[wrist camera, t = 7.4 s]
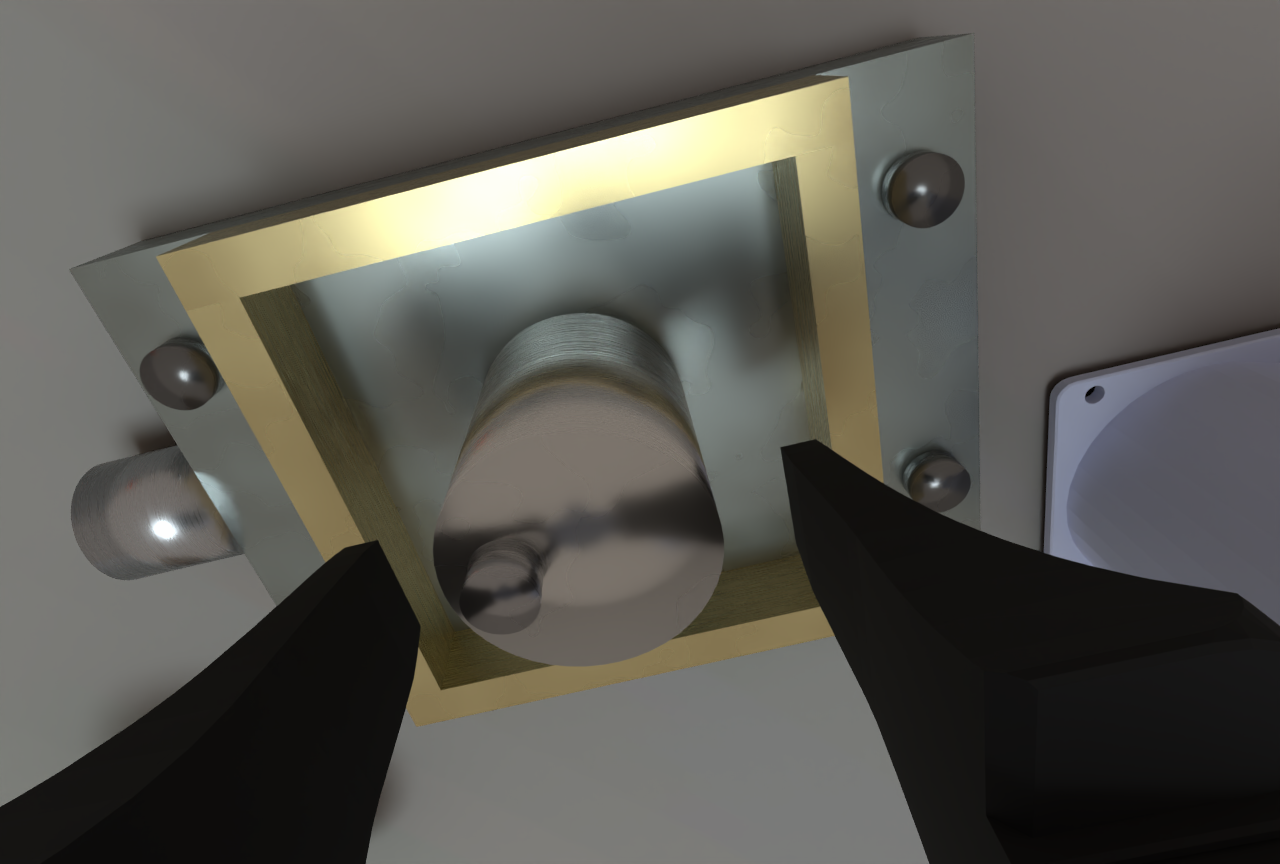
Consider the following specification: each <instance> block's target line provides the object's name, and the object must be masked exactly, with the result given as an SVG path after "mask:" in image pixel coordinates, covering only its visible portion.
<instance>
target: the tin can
mask: <svg viewBox="0 0 1280 864" xmlns="http://www.w3.org/2000/svg"><path fill="white" fill-rule="evenodd" d="M433 559H434V567H435V571H436V575H437V579H438V582H439V584H440V587H441V589H442V592H443V594H444V596H445V597H446V599H447V601H448V602H449V604H450V606H451V607H452V609H453V610H454V611H455V612H456V614H457V615H458V616H459V617H460V618H461V620H462V621H463V622H464V623H465V624H467V625H468V626H469V627H470V628H471V629H472V630H473V631H474V632H475V633H477V634H478V635H479V636H481V637H482V638H484V639H485V640H486V641H488V642H490V643H491V644H493V645H495V646H497V647H498V648H500V649H502V650H504V651H507V652H509V653H511V654H514V655H516V656H519V657H522V658H525V659H528V660H531V661H535V662H540V663H545V664H550V665H559V666H581V667H585V666H597V665H605V664H610V663H615V662H620V661H624V660H627V659H630V658H634V657H637V656H639V655H642V654H644V653H647V652H649V651H651V650H653V649H655V648H657V647H659V646H661V645H663V644H664V643H666V642H668V641H669V640H671V639H672V638H674V637H675V636H676V635H678V634H679V633H680V632H682V631H683V630H684V629H685V628H686V627H687V626H688V625H690V624H691V623H692V622H693V621H694V619H695V618H696V617H697V616H698V615H699V614H700V613H701V611H702V610H703V609H704V607H705V606H706V604H707V603H708V601H709V600H710V598H711V596H712V594H713V592H714V590H715V588H716V586H717V584H718V581H719V577H720V574H721V571H722V566H723V559H724V537H723V531H722V525H721V521H720V518H719V514H718V511H717V507H716V503H715V500H714V496H713V493H712V489H711V486H710V482H709V479H708V475H707V472H706V468H705V464H704V461H703V457H702V454H701V450H700V447H699V443H698V440H697V436H696V432H695V429H694V425H693V422H692V418H691V415H690V411H689V408H688V404H687V400H686V397H685V393H684V390H683V386H682V383H681V380H680V377H679V374H678V372H677V370H676V368H675V366H674V364H673V362H672V360H671V359H670V358H669V356H668V355H667V353H666V352H665V351H664V350H663V348H662V347H661V346H660V345H659V344H658V343H657V342H656V341H655V340H654V339H652V338H651V337H650V336H649V335H648V334H646V333H645V332H643V331H642V330H640V329H638V328H637V327H635V326H633V325H631V324H629V323H627V322H625V321H622V320H619V319H616V318H613V317H610V316H605V315H599V314H590V313H575V314H565V315H560V316H555V317H551V318H548V319H545V320H543V321H540V322H538V323H536V324H534V325H532V326H530V327H528V328H526V329H525V330H523V331H522V332H520V333H519V334H517V335H516V336H515V337H514V338H512V339H511V340H510V341H509V342H508V343H507V344H506V345H505V346H504V347H503V349H502V350H501V351H500V352H499V353H498V355H497V356H496V358H495V359H494V361H493V363H492V364H491V366H490V369H489V371H488V373H487V376H486V378H485V381H484V384H483V387H482V390H481V393H480V396H479V399H478V402H477V405H476V408H475V411H474V414H473V416H472V419H471V422H470V425H469V428H468V431H467V434H466V437H465V440H464V443H463V446H462V449H461V452H460V455H459V458H458V461H457V464H456V467H455V470H454V472H453V475H452V478H451V481H450V484H449V487H448V490H447V493H446V496H445V499H444V502H443V505H442V508H441V511H440V514H439V517H438V520H437V524H436V528H435V532H434V540H433Z"/></svg>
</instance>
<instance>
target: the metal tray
mask: <svg viewBox="0 0 1280 864" xmlns="http://www.w3.org/2000/svg"><path fill="white" fill-rule="evenodd" d="M69 270H70V272H71V274H72V275H73V277H74V278H75V280H76V282H77V283H78V285H79V287H80V288H81V290H82V291H83V293H84V295H85V296H86V298H87V299H88V301H89V303H90V304H91V306H92V308H93V309H94V311H95V312H96V314H97V316H98V317H99V319H100V321H101V322H102V324H103V325H104V327H105V329H106V330H107V332H108V333H109V335H110V337H111V338H112V340H113V342H114V343H115V345H116V346H117V348H118V350H119V351H120V353H121V355H122V356H123V358H124V359H125V361H126V363H127V364H128V366H129V367H130V369H131V371H132V372H133V374H134V376H135V377H136V379H137V380H138V382H139V384H140V385H141V387H142V389H143V390H144V392H145V393H146V395H147V397H148V398H149V400H150V401H151V403H152V405H153V406H154V408H155V410H156V411H157V413H158V414H159V416H160V418H161V419H162V421H163V423H164V424H165V426H166V427H167V429H168V431H169V432H170V434H171V435H172V437H173V439H174V440H175V442H176V444H177V445H176V446H172V447H168V448H164V449H160V450H155V451H151V452H147V453H143V454H139V455H135V456H131V457H127V458H123V459H119V460H115V461H110V462H106V463H103V464H99V465H97V466H95V467H93V468H92V469H90V470H89V471H88V472H87V473H86V474H84V476H83V477H82V478H81V480H80V481H79V483H78V485H77V486H76V489H75V492H74V494H73V499H72V505H71V520H72V527H73V531H74V535H75V538H76V540H77V543H78V545H79V547H80V549H81V551H82V552H83V554H84V555H85V557H86V558H87V559H88V560H89V561H90V563H91V564H92V565H93V566H94V567H96V568H97V569H98V570H99V571H101V572H102V573H104V574H106V575H108V576H110V577H112V578H115V579H120V580H134V579H139V578H143V577H148V576H152V575H156V574H160V573H165V572H169V571H173V570H177V569H182V568H186V567H190V566H194V565H199V564H203V563H207V562H212V561H216V560H220V559H224V558H229V557H233V556H237V555H241V554H245V555H246V557H247V559H248V560H249V562H250V563H251V565H252V567H253V568H254V570H255V572H256V573H257V575H258V576H259V578H260V580H261V581H262V583H263V584H264V586H265V588H266V589H267V591H268V593H269V594H270V596H271V597H272V599H273V601H274V602H275V604H276V606H278V605H279V604H280V603H281V602H282V601H283V600H284V599H285V598H286V597H288V596H289V595H290V594H291V593H292V592H293V591H294V590H295V589H296V588H297V587H299V586H300V585H301V584H302V583H303V582H304V581H305V580H306V579H307V578H308V577H310V576H311V575H312V574H313V573H314V572H315V571H316V570H317V569H319V568H320V567H321V566H322V565H323V564H324V563H326V562H327V561H328V560H329V559H330V558H332V557H333V556H334V555H335V554H337V553H338V552H340V551H341V550H342V549H344V548H345V547H349V546H353V545H358V544H362V543H366V542H371V541H375V540H378V541H379V543H380V545H381V547H382V549H383V551H384V553H385V555H386V557H387V559H388V561H389V563H390V565H391V567H392V569H393V571H394V573H395V575H396V577H397V579H398V581H399V583H400V585H401V587H402V589H403V591H404V593H405V595H406V597H407V599H408V601H409V603H410V605H411V607H412V609H413V611H414V613H415V615H416V617H417V619H418V621H419V623H420V625H421V630H420V638H419V647H418V655H417V662H416V668H415V675H414V680H413V684H412V687H411V691H410V695H409V698H408V702H407V705H406V709H407V710H408V712H409V714H410V716H411V718H412V719H413V721H414V723H415V725H416V727H418V726H423V725H427V724H432V723H436V722H441V721H445V720H450V719H455V718H459V717H464V716H468V715H473V714H478V713H482V712H487V711H491V710H496V709H501V708H505V707H510V706H514V705H519V704H523V703H528V702H533V701H537V700H542V699H546V698H551V697H556V696H560V695H565V694H569V693H574V692H579V691H583V690H588V689H592V688H597V687H601V686H606V685H611V684H615V683H620V682H624V681H629V680H634V679H638V678H643V677H647V676H652V675H656V674H661V673H666V672H670V671H675V670H679V669H684V668H689V667H693V666H698V665H702V664H707V663H712V662H716V661H721V660H725V659H730V658H734V657H739V656H744V655H748V654H753V653H757V652H762V651H767V650H771V649H776V648H780V647H785V646H790V645H794V644H799V643H803V642H808V641H812V640H817V639H822V638H826V637H831V636H835V635H834V633H833V631H832V629H831V627H830V625H829V623H828V621H827V619H826V617H825V615H824V613H823V611H822V609H821V607H820V605H819V603H818V601H817V599H816V597H815V595H814V593H813V590H812V587H811V585H810V582H809V579H808V576H807V574H806V571H805V568H804V565H803V562H802V559H801V556H800V553H799V550H798V547H797V545H796V540H795V534H794V528H793V522H792V516H791V510H790V504H789V498H788V492H787V485H786V479H785V473H784V467H783V461H782V455H781V449H780V447H783V446H788V445H792V444H796V443H801V442H805V441H810V440H814V439H816V440H818V441H819V442H821V443H822V444H824V445H826V446H827V447H829V448H830V449H832V450H833V451H835V452H836V453H837V454H839V455H840V456H842V457H843V458H845V459H846V460H848V461H849V462H851V463H852V464H854V465H855V466H857V467H858V468H860V469H861V470H863V471H865V472H866V473H868V474H869V475H871V476H872V477H874V478H876V479H877V480H879V481H881V482H882V483H884V484H886V485H887V486H889V487H891V488H892V489H894V490H896V491H898V492H899V493H901V494H903V495H905V496H907V497H908V498H910V499H912V500H914V501H916V502H918V503H920V504H922V505H924V506H926V507H928V508H930V509H932V510H934V511H936V512H938V513H940V514H942V515H944V516H947V517H949V518H951V519H953V520H955V521H958V522H960V523H963V524H965V525H968V526H970V527H972V528H975V529H977V530H980V459H979V381H978V303H977V225H976V147H975V70H974V33H971V34H960V35H948V36H936V37H924V38H917V39H913V40H909V41H905V42H901V43H898V44H894V45H890V46H886V47H882V48H879V49H875V50H871V51H867V52H863V53H859V54H856V55H852V56H848V57H844V58H840V59H836V60H833V61H829V62H825V63H821V64H817V65H814V66H810V67H806V68H802V69H798V70H794V71H791V72H787V73H783V74H779V75H775V76H771V77H768V78H764V79H760V80H756V81H752V82H749V83H745V84H741V85H737V86H733V87H729V88H726V89H722V90H718V91H714V92H710V93H707V94H703V95H699V96H695V97H691V98H687V99H684V100H680V101H676V102H672V103H668V104H664V105H661V106H657V107H653V108H649V109H645V110H642V111H638V112H634V113H630V114H626V115H622V116H619V117H615V118H611V119H607V120H603V121H599V122H596V123H592V124H588V125H584V126H580V127H577V128H573V129H569V130H565V131H561V132H557V133H554V134H550V135H546V136H542V137H538V138H534V139H531V140H527V141H523V142H519V143H515V144H512V145H508V146H504V147H500V148H496V149H492V150H489V151H485V152H481V153H477V154H473V155H470V156H466V157H462V158H458V159H454V160H450V161H447V162H443V163H439V164H435V165H431V166H427V167H424V168H420V169H416V170H412V171H408V172H405V173H401V174H397V175H393V176H389V177H385V178H382V179H378V180H374V181H370V182H366V183H362V184H359V185H355V186H351V187H347V188H343V189H340V190H336V191H332V192H328V193H324V194H320V195H317V196H313V197H309V198H305V199H301V200H297V201H294V202H290V203H286V204H282V205H278V206H275V207H271V208H267V209H263V210H259V211H255V212H252V213H248V214H244V215H240V216H236V217H233V218H229V219H225V220H221V221H217V222H213V223H210V224H206V225H202V226H198V227H194V228H190V229H187V230H183V231H179V232H175V233H171V234H168V235H164V236H160V237H156V238H152V239H148V240H145V241H141V242H138V243H135V244H133V245H130V246H128V247H125V248H123V249H120V250H117V251H115V252H112V253H110V254H107V255H105V256H102V257H99V258H97V259H94V260H92V261H89V262H87V263H84V264H81V265H79V266H76V267H74V268H71V269H69ZM575 313H590V314H599V315H605V316H610V317H613V318H616V319H619V320H622V321H625V322H627V323H629V324H631V325H633V326H635V327H637V328H638V329H640V330H642V331H643V332H645V333H646V334H648V335H649V336H650V337H651V338H652V339H654V340H655V341H656V342H657V343H658V344H659V345H660V346H661V347H662V348H663V350H664V351H665V352H666V353H667V355H668V356H669V358H670V359H671V360H672V362H673V364H674V366H675V368H676V370H677V372H678V374H679V377H680V380H681V383H682V386H683V390H684V393H685V397H686V400H687V404H688V408H689V411H690V415H691V418H692V422H693V425H694V429H695V432H696V436H697V440H698V443H699V447H700V450H701V454H702V457H703V461H704V464H705V468H706V472H707V475H708V479H709V482H710V486H711V489H712V493H713V496H714V500H715V503H716V507H717V511H718V514H719V518H720V521H721V525H722V531H723V537H724V559H723V566H722V571H721V574H720V577H719V581H718V584H717V586H716V588H715V590H714V592H713V594H712V596H711V598H710V600H709V601H708V603H707V604H706V606H705V607H704V609H703V610H702V611H701V613H700V614H699V615H698V616H697V617H696V618H695V619H694V621H693V622H692V623H691V624H690V625H688V626H687V627H686V628H685V629H684V630H683V631H682V632H680V633H679V634H678V635H676V636H675V637H674V638H672V639H671V640H669V641H668V642H666V643H664V644H663V645H661V646H659V647H657V648H655V649H653V650H651V651H649V652H647V653H644V654H642V655H639V656H637V657H634V658H630V659H627V660H624V661H620V662H615V663H610V664H605V665H597V666H585V667H581V666H559V665H550V664H545V663H540V662H535V661H531V660H528V659H525V658H522V657H519V656H516V655H514V654H511V653H509V652H507V651H504V650H502V649H500V648H498V647H497V646H495V645H493V644H491V643H490V642H488V641H486V640H485V639H484V638H482V637H481V636H479V635H478V634H477V633H475V632H474V631H473V630H472V629H471V628H470V627H469V626H468V625H467V624H465V623H464V622H463V621H462V620H461V618H460V617H459V616H458V615H457V614H456V612H455V611H454V610H453V609H452V607H451V606H450V604H449V602H448V601H447V599H446V597H445V596H444V594H443V592H442V589H441V587H440V584H439V582H438V579H437V575H436V571H435V567H434V559H433V540H434V532H435V528H436V524H437V520H438V517H439V514H440V511H441V508H442V505H443V502H444V499H445V496H446V493H447V490H448V487H449V484H450V481H451V478H452V475H453V472H454V470H455V467H456V464H457V461H458V458H459V455H460V452H461V449H462V446H463V443H464V440H465V437H466V434H467V431H468V428H469V425H470V422H471V419H472V416H473V414H474V411H475V408H476V405H477V402H478V399H479V396H480V393H481V390H482V387H483V384H484V381H485V378H486V376H487V373H488V371H489V369H490V366H491V364H492V363H493V361H494V359H495V358H496V356H497V355H498V353H499V352H500V351H501V350H502V349H503V347H504V346H505V345H506V344H507V343H508V342H509V341H510V340H511V339H512V338H514V337H515V336H516V335H517V334H519V333H520V332H522V331H523V330H525V329H526V328H528V327H530V326H532V325H534V324H536V323H538V322H540V321H543V320H545V319H548V318H551V317H555V316H560V315H565V314H575Z"/></svg>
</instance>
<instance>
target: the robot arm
mask: <svg viewBox="0 0 1280 864" xmlns="http://www.w3.org/2000/svg"><path fill="white" fill-rule="evenodd" d="M1094 386H1096V387H1095V390H1094V392H1093V393H1092V394H1091V395H1090V396H1087V397H1085V395H1086V392H1087V391H1088V390H1089V389H1090V388H1092V387H1094ZM780 449H781V455H782V461H783V467H784V473H785V479H786V485H787V492H788V498H789V504H790V510H791V516H792V522H793V528H794V534H795V540H796V545H797V547H798V550H799V553H800V556H801V559H802V562H803V565H804V568H805V571H806V574H807V576H808V579H809V582H810V585H811V587H812V590H813V593H814V595H815V597H816V599H817V601H818V603H819V605H820V607H821V609H822V611H823V613H824V615H825V617H826V619H827V621H828V623H829V625H830V627H831V629H832V631H833V633H834V635H835V637H836V639H837V641H838V643H839V645H840V647H841V649H842V651H843V653H844V655H845V657H846V659H847V661H848V663H849V665H850V667H851V669H852V671H853V673H854V675H855V677H856V679H857V681H858V683H859V685H860V687H861V689H862V691H863V693H864V695H865V697H866V699H867V701H868V703H869V706H870V708H871V710H872V712H873V715H874V717H875V719H876V721H877V724H878V726H879V729H880V732H881V734H882V737H883V740H884V742H885V745H886V747H887V750H888V753H889V755H890V758H891V761H892V763H893V766H894V768H895V771H896V774H897V776H898V779H899V782H900V784H901V787H902V790H903V793H904V795H905V798H906V801H907V803H908V806H909V809H910V812H911V814H912V817H913V820H914V822H915V825H916V828H917V831H918V833H919V836H920V839H921V841H922V844H923V847H924V850H925V853H926V855H927V858H928V861H929V864H1280V328H1278V329H1274V330H1270V331H1265V332H1261V333H1257V334H1253V335H1248V336H1244V337H1240V338H1235V339H1231V340H1227V341H1223V342H1218V343H1214V344H1210V345H1205V346H1201V347H1197V348H1193V349H1188V350H1184V351H1180V352H1175V353H1171V354H1167V355H1163V356H1158V357H1154V358H1150V359H1145V360H1141V361H1137V362H1133V363H1128V364H1124V365H1120V366H1115V367H1111V368H1107V369H1103V370H1098V371H1094V372H1090V373H1085V374H1081V375H1077V376H1073V377H1069V378H1066V379H1064V380H1062V381H1060V382H1059V383H1058V384H1057V385H1056V386H1055V387H1054V388H1053V390H1052V391H1051V395H1050V405H1049V430H1048V456H1047V482H1046V508H1045V533H1044V553H1043V552H1040V551H1037V550H1034V549H1030V548H1027V547H1024V546H1021V545H1018V544H1015V543H1012V542H1009V541H1006V540H1003V539H1000V538H998V537H995V536H992V535H990V534H987V533H985V532H982V531H980V530H977V529H975V528H972V527H970V526H968V525H965V524H963V523H960V522H958V521H955V520H953V519H951V518H949V517H947V516H944V515H942V514H940V513H938V512H936V511H934V510H932V509H930V508H928V507H926V506H924V505H922V504H920V503H918V502H916V501H914V500H912V499H910V498H908V497H907V496H905V495H903V494H901V493H899V492H898V491H896V490H894V489H892V488H891V487H889V486H887V485H886V484H884V483H882V482H881V481H879V480H877V479H876V478H874V477H872V476H871V475H869V474H868V473H866V472H865V471H863V470H861V469H860V468H858V467H857V466H855V465H854V464H852V463H851V462H849V461H848V460H846V459H845V458H843V457H842V456H840V455H839V454H837V453H836V452H835V451H833V450H832V449H830V448H829V447H827V446H826V445H824V444H822V443H821V442H819V441H818V440H816V439H814V440H810V441H805V442H801V443H796V444H792V445H788V446H783V447H780ZM420 630H421V625H420V623H419V621H418V619H417V617H416V615H415V613H414V611H413V609H412V607H411V605H410V603H409V601H408V599H407V597H406V595H405V593H404V591H403V589H402V587H401V585H400V583H399V581H398V579H397V577H396V575H395V573H394V571H393V569H392V567H391V565H390V563H389V561H388V559H387V557H386V555H385V553H384V551H383V549H382V547H381V545H380V543H379V541H378V540H375V541H371V542H366V543H362V544H358V545H353V546H349V547H345V548H344V549H342V550H341V551H340V552H338V553H337V554H335V555H334V556H333V557H332V558H330V559H329V560H328V561H327V562H326V563H324V564H323V565H322V566H321V567H320V568H319V569H317V570H316V571H315V572H314V573H313V574H312V575H311V576H310V577H308V578H307V579H306V580H305V581H304V582H303V583H302V584H301V585H300V586H299V587H297V588H296V589H295V590H294V591H293V592H292V593H291V594H290V595H289V596H288V597H286V598H285V599H284V600H283V601H282V602H281V603H280V604H279V605H278V606H277V607H275V608H274V609H273V610H272V611H271V612H270V613H269V614H268V615H267V616H266V617H265V618H263V619H262V620H261V621H260V622H259V623H258V624H257V625H256V626H255V627H253V628H252V629H251V630H250V631H249V632H248V633H246V634H245V635H244V636H243V637H242V638H241V639H239V640H238V641H237V642H236V643H235V644H234V645H232V646H231V647H230V648H229V649H228V650H227V651H225V652H224V653H223V654H222V655H221V656H220V657H218V658H217V659H216V660H215V661H214V662H213V663H211V664H210V665H209V666H208V667H207V668H206V669H204V670H203V671H202V672H201V673H199V674H198V675H197V676H196V677H194V678H193V679H192V680H191V681H189V682H188V683H187V684H186V685H184V686H183V687H182V688H180V689H179V690H178V691H177V692H175V693H174V694H173V695H171V696H170V697H169V698H167V699H166V700H165V701H163V702H162V703H161V704H159V705H158V706H156V707H155V708H154V709H152V710H151V711H150V712H148V713H147V714H146V715H144V716H143V717H142V718H140V719H139V720H137V721H136V722H134V723H133V724H132V725H130V726H129V727H127V728H126V729H124V730H123V731H121V732H120V733H118V734H117V735H115V736H114V737H112V738H111V739H109V740H108V741H106V742H105V743H103V744H102V745H100V746H98V747H97V748H95V749H94V750H92V751H91V752H89V753H88V754H86V755H85V756H83V757H82V758H80V759H79V760H77V761H76V762H74V763H73V764H71V765H70V766H68V767H67V768H65V769H64V770H62V771H60V772H59V773H57V774H55V775H54V776H52V777H50V778H49V779H47V780H45V781H44V782H42V783H40V784H39V785H37V786H35V787H34V788H32V789H30V790H29V791H27V792H25V793H24V794H22V795H20V796H19V797H17V798H15V799H13V800H12V801H10V802H8V803H6V804H5V805H3V806H1V807H0V864H366V859H367V853H368V848H369V842H370V837H371V831H372V826H373V822H374V818H375V814H376V810H377V806H378V802H379V798H380V794H381V791H382V787H383V784H384V781H385V777H386V774H387V770H388V767H389V764H390V760H391V757H392V753H393V750H394V747H395V743H396V740H397V736H398V733H399V730H400V726H401V723H402V719H403V716H404V712H405V709H406V705H407V702H408V698H409V695H410V691H411V687H412V684H413V680H414V675H415V668H416V662H417V655H418V647H419V638H420Z"/></svg>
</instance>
